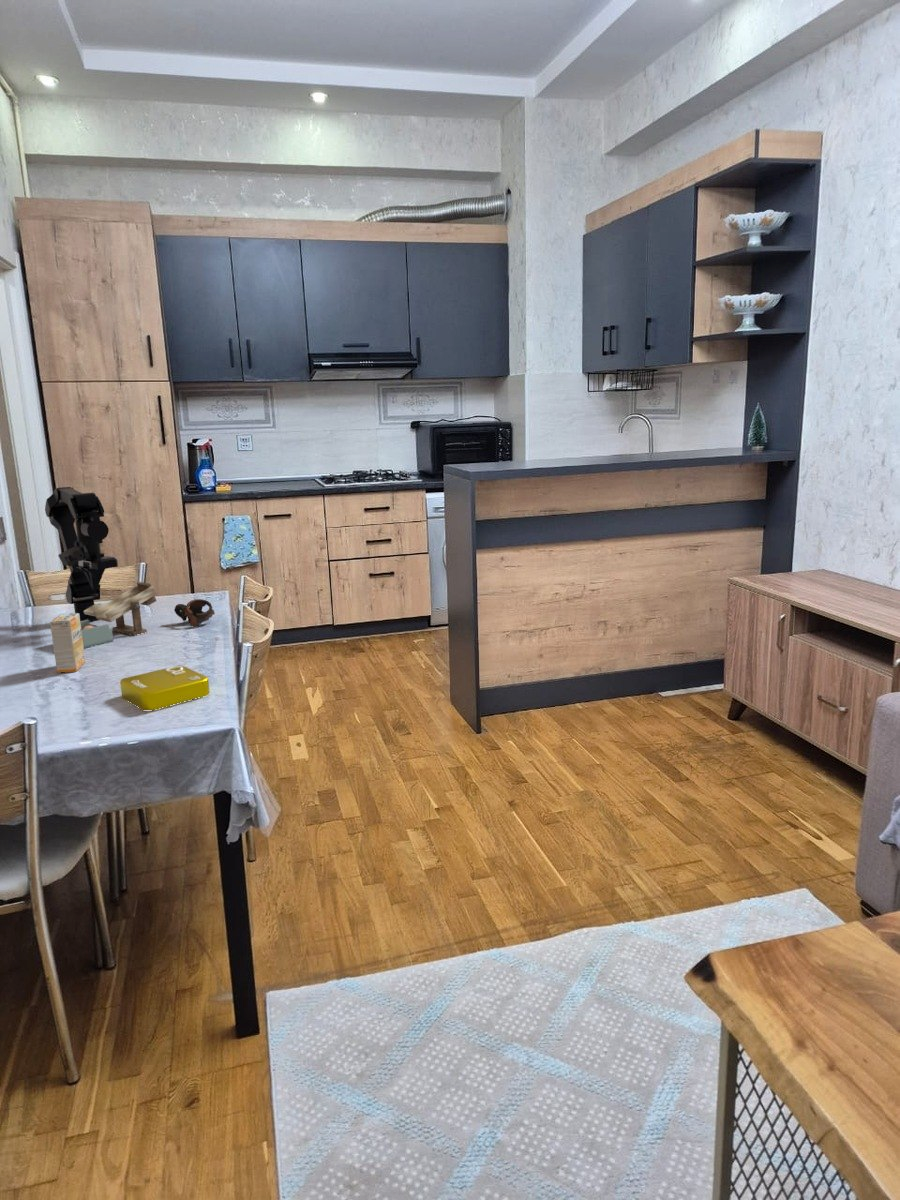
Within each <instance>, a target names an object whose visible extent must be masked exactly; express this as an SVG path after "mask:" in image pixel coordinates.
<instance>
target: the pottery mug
mask: <svg viewBox="0 0 900 1200" xmlns="http://www.w3.org/2000/svg"><path fill="white" fill-rule="evenodd" d="M206 606H208V610H207V611H203V608H204V607H206ZM173 611H174V613H175V615H177V616H178V617H179V618H180V619H182V621H183V622H185V621H188V622H189V626H190V627H192V626H193V627H192V628H195V627H196V626H197V625H199V624H202V623H204V622H207V621H208V620H210V619H211V618H212V617H213V615H215V614H216V613H215V611H214V609H213V605H212V604H211V602H210V601H208V600H206V599H202V598H201V599H200V598H195V599H193V600H190V601H188V602H187V603H186V604H184V603H178V604H176V605H175V606H174V609H173Z"/></svg>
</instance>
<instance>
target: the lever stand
mask: <svg viewBox="0 0 900 1200" xmlns="http://www.w3.org/2000/svg"><path fill="white" fill-rule="evenodd" d="M115 598H116V597H115ZM115 598H113V599H115ZM140 605H141V604H140ZM140 605H139V601H133V602H131V610H130V611H131V617H132V625H129V624H125V617H124V616H125V615H124V614H123V615H122V616H120V617H119V618H117V619H115V624H116V626H114V627H112V628H111V629H112V632H116V631H117V632H116V633H120V632H121V633H120V634H124V633H126V634H125V635H128V634H131V635H130V636H133V635H136V636H138V635H137V634H140V635H142V634H141V633H144V634H146V633H145V632H147V633H148V631H147V628H143V627H142V617H141V606H140Z"/></svg>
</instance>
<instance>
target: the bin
mask: <svg viewBox="0 0 900 1200" xmlns="http://www.w3.org/2000/svg"><path fill="white" fill-rule="evenodd" d="M90 622H91V621H90ZM90 622H89V620H84V621H80V624H81V632H82V639H83V647H84V648H85V649H88V647H89V648H92V647H91V646H93V647H96V646H95V645H97V646H100V644H101V645H104V643H105V644H108V643H111V641H112V642H114V636H113V629H112V628H110V627H109V624H108V623H106V624H102V625H97V624H91V623H90ZM85 626H93V628H89V629H84V630H82V629H83V628H84V627H85Z"/></svg>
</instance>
